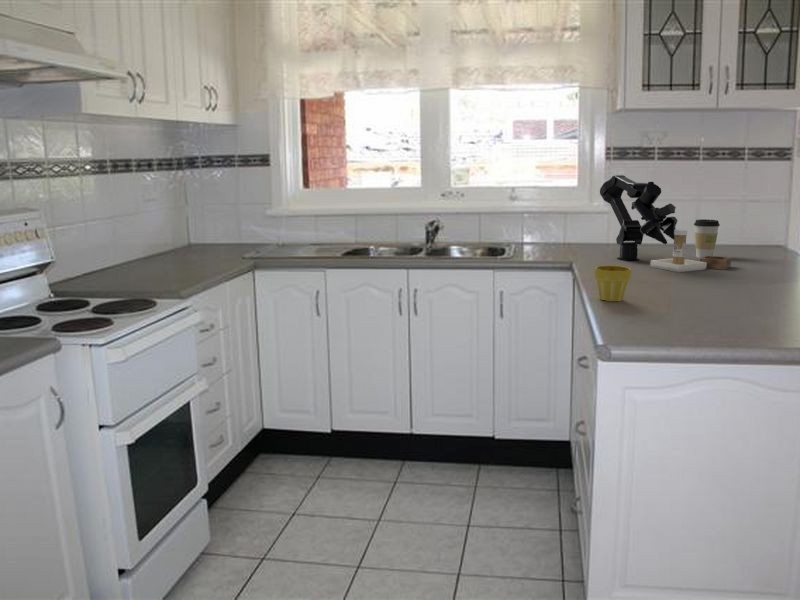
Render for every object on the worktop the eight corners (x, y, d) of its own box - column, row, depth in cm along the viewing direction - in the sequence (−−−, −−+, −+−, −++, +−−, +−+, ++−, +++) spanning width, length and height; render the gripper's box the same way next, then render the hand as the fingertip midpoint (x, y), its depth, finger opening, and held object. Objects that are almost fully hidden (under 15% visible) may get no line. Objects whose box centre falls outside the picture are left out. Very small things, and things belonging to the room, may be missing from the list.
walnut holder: (699, 267, 292) (700, 258, 291) (705, 264, 299) (706, 255, 298) (724, 269, 286) (725, 260, 286) (730, 266, 294) (731, 257, 293)
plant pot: (631, 303, 228) (633, 271, 226) (594, 302, 229) (596, 270, 227) (627, 297, 238) (629, 265, 236) (592, 296, 239) (594, 264, 237)
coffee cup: (719, 259, 312) (722, 221, 309) (693, 258, 314) (696, 221, 311) (714, 255, 321) (717, 219, 318) (689, 255, 323) (692, 219, 320)
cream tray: (650, 266, 293) (650, 260, 293) (677, 264, 300) (677, 257, 299) (678, 272, 281) (679, 265, 281) (706, 269, 288) (706, 262, 287)
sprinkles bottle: (669, 265, 291) (671, 229, 288) (676, 263, 294) (678, 228, 291) (680, 266, 288) (683, 230, 285) (687, 265, 290) (689, 229, 288)
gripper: (649, 198, 285) (675, 230, 279) (674, 195, 298) (699, 226, 292) (629, 217, 292) (654, 250, 287) (654, 214, 305) (678, 245, 299)
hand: (672, 242), depth 291 cm, fingers open, 9 cm apart
